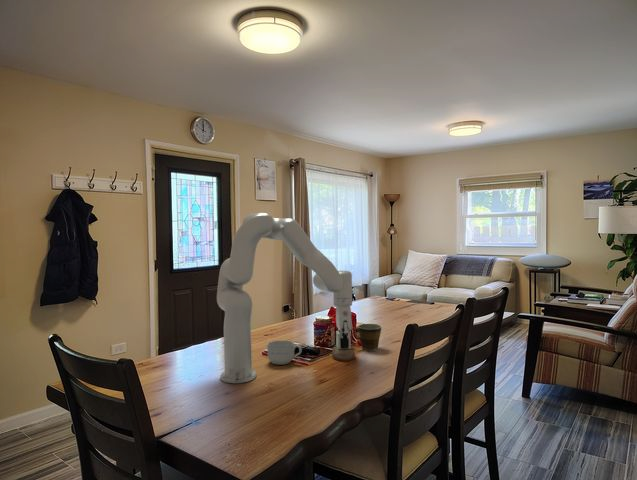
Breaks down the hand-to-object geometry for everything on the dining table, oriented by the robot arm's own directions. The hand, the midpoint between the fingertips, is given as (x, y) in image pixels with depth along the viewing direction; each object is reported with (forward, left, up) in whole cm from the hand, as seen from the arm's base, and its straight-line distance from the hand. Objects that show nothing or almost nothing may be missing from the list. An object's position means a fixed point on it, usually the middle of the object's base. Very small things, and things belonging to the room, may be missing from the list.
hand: (343, 345), depth 171 cm
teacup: (-3, +24, -5) cm, 25 cm away
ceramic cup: (+9, -12, -5) cm, 16 cm away
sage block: (0, 0, -1) cm, 1 cm away
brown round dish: (0, 0, -5) cm, 5 cm away
